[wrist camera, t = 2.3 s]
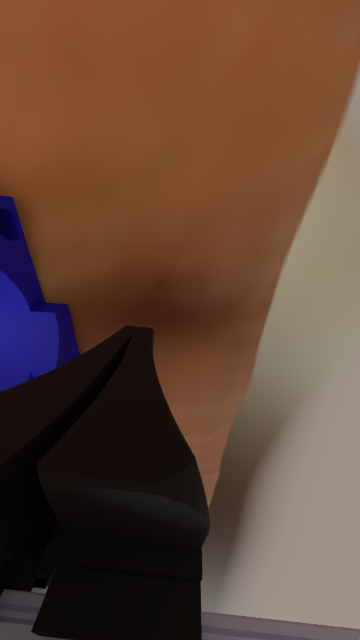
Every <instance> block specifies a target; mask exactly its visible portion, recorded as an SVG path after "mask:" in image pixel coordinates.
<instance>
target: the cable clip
mask: <svg viewBox="0 0 360 640" xmlns="http://www.w3.org/2000/svg"><path fill="white" fill-rule="evenodd" d="M79 356H80V353H79V349H78V345H77V341H76V337H75V333H74V329H73V326H72V322H71V318H70V314H69V310H68V306H67V304H53V303H45V301H44V298H43V295H42V292H41V288H40V285H39V282H38V279H37V275H36V272H35V269H34V266H33V263H32V259H31V256H30V253H29V250H28V246H27V243H26V240H25V237H24V233H23V230H22V227H21V224H20V220H19V217H18V214H17V211H16V207H15V204H14V201H13V198H12V197H7V196H0V392H1V391H3V390H6V389H9V388H11V387H14V386H17V385H19V384H21V383H24V382H26V381H28V380H31V379H33V378H36V377H38V376H40V375H43V374H45V373H47V372H49V371H52V370H54V369H56V368H58V367H60V366H62V365H64V364H66V363H68V362H70V361H71V360H73V359H75V358H77V357H79Z"/></svg>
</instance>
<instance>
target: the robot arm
mask: <svg viewBox="0 0 360 640" xmlns="http://www.w3.org/2000/svg"><path fill="white" fill-rule="evenodd" d="M153 340H154V330H153V329H152V328H146V327H137V326H128V325H127V326H125V327H123V328H122V329H121V330H119V331H118V332H116V333H115V334H113V335H112V336H110V337H109V338H107V339H106V340H104V341H103V342H102V343H100V344H99V345H97V346H95V347H94V348H92V349H90V350H89V351H87V352H85V353H84V354H82V355H80V356H79V357H77V358H75V359H73V360H71V361H70V362H68V363H66V364H64V365H62V366H60V367H58V368H56V369H54V370H52V371H49V372H47V373H45V374H43V375H40V376H38V377H36V378H33V379H31V380H28V381H26V382H24V383H21V384H19V385H17V386H14V387H11V388H9V389H6V390H3V391H1V392H0V640H360V629H351V628H343V627H333V626H324V625H316V624H306V623H298V622H290V621H281V620H272V619H263V618H254V617H246V616H236V615H228V614H219V613H211V612H202V611H201V588H200V587H201V585H200V581H201V580H202V546H203V544H204V542H205V540H206V538H207V535H208V533H209V528H210V519H209V511H208V505H207V500H206V495H205V491H204V487H203V483H202V479H201V476H200V472H199V469H198V466H197V462H196V459H195V456H194V454H193V453H192V451H191V449H190V447H189V446H188V444H187V442H186V440H185V439H184V437H183V435H182V433H181V431H180V429H179V427H178V425H177V423H176V421H175V419H174V417H173V415H172V413H171V411H170V408H169V406H168V404H167V401H166V399H165V397H164V394H163V391H162V389H161V386H160V383H159V380H158V376H157V373H156V369H155V364H154V360H153ZM47 586H48V589H47V592H46V594H44V593H35V592H31V590H32V588H41V589H46V587H47Z"/></svg>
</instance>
